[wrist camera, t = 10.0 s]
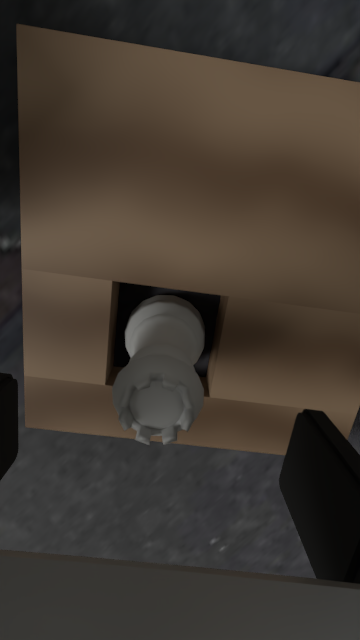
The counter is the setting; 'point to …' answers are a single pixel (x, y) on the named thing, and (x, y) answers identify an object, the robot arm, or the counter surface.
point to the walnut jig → (188, 230)
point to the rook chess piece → (161, 369)
